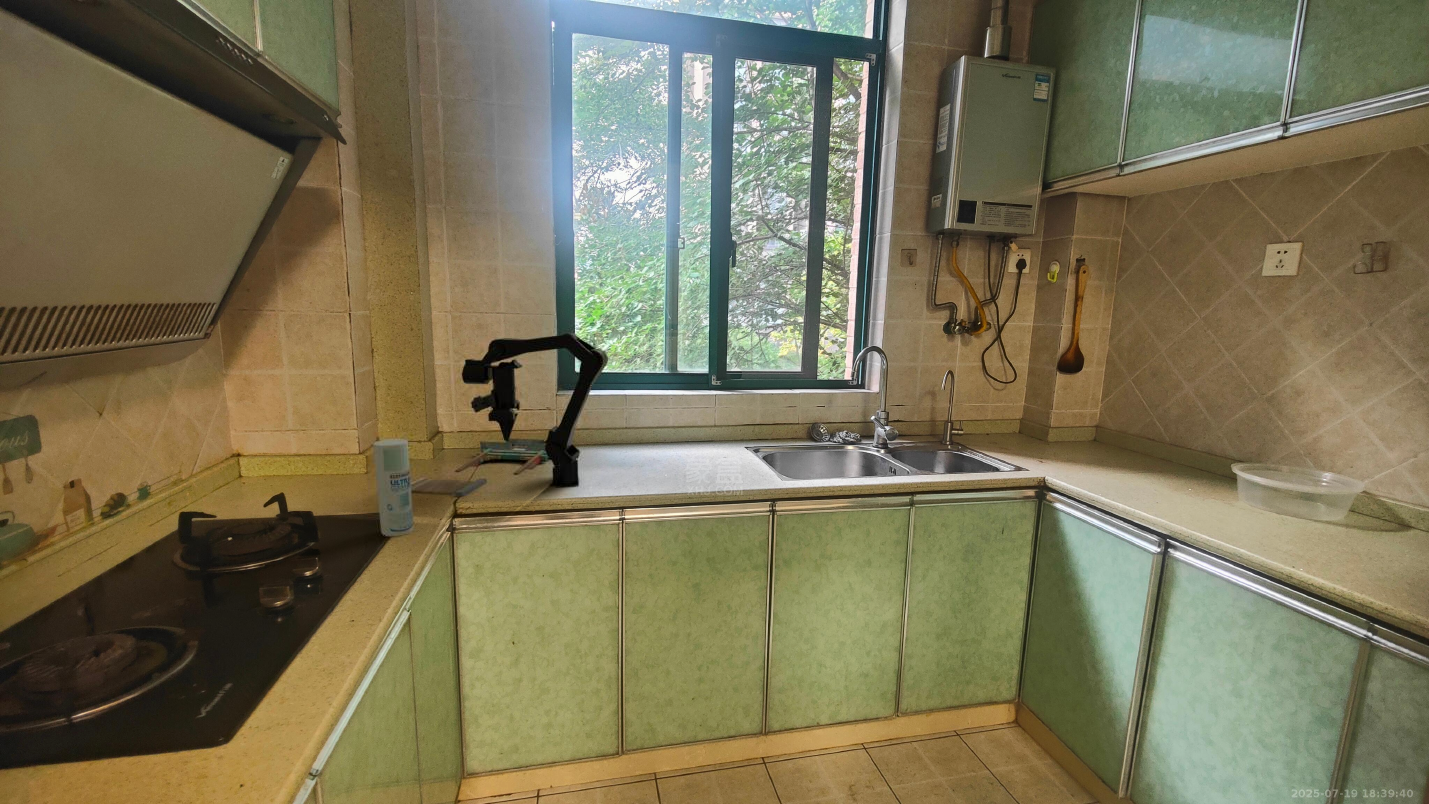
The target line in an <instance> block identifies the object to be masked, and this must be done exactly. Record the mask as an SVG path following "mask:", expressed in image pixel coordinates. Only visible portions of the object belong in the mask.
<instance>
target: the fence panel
mask: <svg viewBox="0 0 1429 804" xmlns="http://www.w3.org/2000/svg"><path fill="white" fill-rule="evenodd" d="M472 482H474V481H473V480H455V479H440V478H439V479H437V478H436V479H435V478H426V477H421V478H418V479H417V480H415V481H412V482H411V494H412V493H413V494H416V493H417V494H431V495H433V494H434V495H448V496H449V495H452V496H453V495H455V492H456V491H458V490H460V489H461V488H463V487H465V486H467V485H469V484H471V483H472Z"/></svg>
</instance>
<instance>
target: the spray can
mask: <svg viewBox="0 0 1429 804" xmlns="http://www.w3.org/2000/svg"><path fill="white" fill-rule="evenodd" d="M372 445H373V446H372V447H373V456H374V468H375V469H374V470H375V480H376V487H377V488H376V490H377V499H378V500H377V502H378V510H379V511H378V513H379V521H380V524H379V525H380V533H381V535H382V534H383V535H382V536H384V535H385V537H399V536H403V535H406V534H409V533H411V532H412V531H413V530H414V516H413V515H414V514H413V513H414V512H413V501H412V492H411V483H412V482H411V471H410V470H411V469H410V453H409V441H408V440H407V439H405V438H404V439H403V438H388V439H387V438H386V439H381V440H377V441H375V442H373V444H372Z"/></svg>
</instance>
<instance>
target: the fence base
mask: <svg viewBox="0 0 1429 804" xmlns="http://www.w3.org/2000/svg"><path fill="white" fill-rule="evenodd" d="M487 483H488V479H487V478H477V479H476V480H474V481H473V482H472V483H471V484H469V485H467V486H465V487H463V488H461V489H460V490H458V491H456V492H455V494H454V495H455V497H460V498H461V497H462V498H463V497H465V496H467V495H468V494H470V493H472V492H473V491H475V490H477V489H479V488H481V487H482V486H484V485H485V484H487Z"/></svg>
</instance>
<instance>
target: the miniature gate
mask: <svg viewBox="0 0 1429 804" xmlns="http://www.w3.org/2000/svg"><path fill="white" fill-rule="evenodd" d="M545 441H546V440H545V438H544V439H543V438H542V439H537V438H536V439H535V438H513V437H512V438H511V437H510V438H509V440H508V441H504V442H503V441H500V442H499V441H482V440H479V443H480V452H479V451H478V452H477V453H476V456H475V457H473V458H472V459H471V460H469V461H467V462H466V463H464V464H462V465H461V466H459V467H458V468H456V469H455V473H461V472H463V471H464V470H466V469H468V468H471V467H473V468H474V467H475V468H476V467H478V466H479V465H481V464H482V463H484V462H486V461H490V460H495V459H496V460H514V461H515V460H516V461H517V460H520V461H523V460H524V461H526V462H525V463H524V464H522V466H520V467H519V468H518V469H517V470H516V471H514V472H513V474H514V475H520V474H521V473H523V472H524V471H526V470H530V471H531V470H533V469H532V468H535V467H536V466H538V464H540V463H541V462H542V461H547V460H548V459H549V458H550V457H549V456H548V455H547V453H546V451H545V445H546V444H544V442H545Z"/></svg>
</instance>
